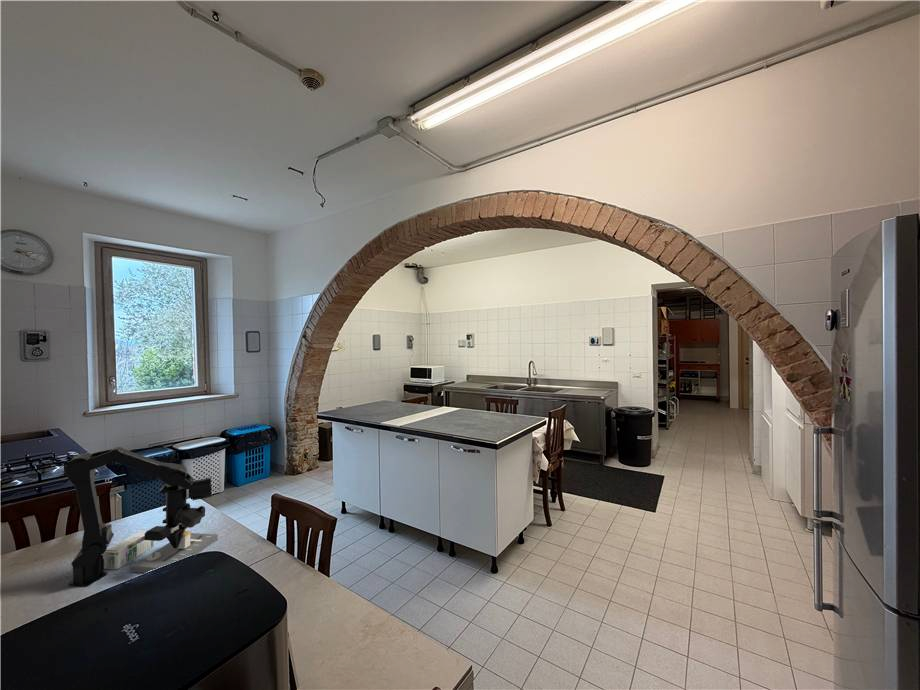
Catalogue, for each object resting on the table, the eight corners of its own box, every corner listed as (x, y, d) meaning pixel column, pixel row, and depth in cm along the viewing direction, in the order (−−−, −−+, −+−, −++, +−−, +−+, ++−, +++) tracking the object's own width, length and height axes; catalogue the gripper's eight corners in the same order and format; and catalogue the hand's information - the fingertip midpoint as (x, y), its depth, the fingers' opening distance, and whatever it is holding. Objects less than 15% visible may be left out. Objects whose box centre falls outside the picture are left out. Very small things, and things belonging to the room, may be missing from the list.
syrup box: (154, 546, 138) (118, 569, 124) (139, 545, 138) (100, 569, 124) (155, 530, 138) (118, 552, 124) (139, 530, 138) (101, 552, 124)
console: (168, 574, 121) (168, 565, 121) (131, 572, 122) (131, 563, 122) (217, 539, 143) (217, 531, 143) (185, 537, 144) (185, 530, 144)
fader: (184, 548, 132) (185, 535, 132) (176, 548, 132) (176, 534, 132) (190, 545, 135) (190, 531, 135) (182, 544, 135) (182, 530, 135)
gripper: (175, 516, 120) (174, 564, 120) (217, 493, 139) (217, 535, 139) (143, 514, 121) (142, 562, 121) (189, 492, 140) (189, 533, 140)
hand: (175, 547), depth 130 cm, fingers closed
